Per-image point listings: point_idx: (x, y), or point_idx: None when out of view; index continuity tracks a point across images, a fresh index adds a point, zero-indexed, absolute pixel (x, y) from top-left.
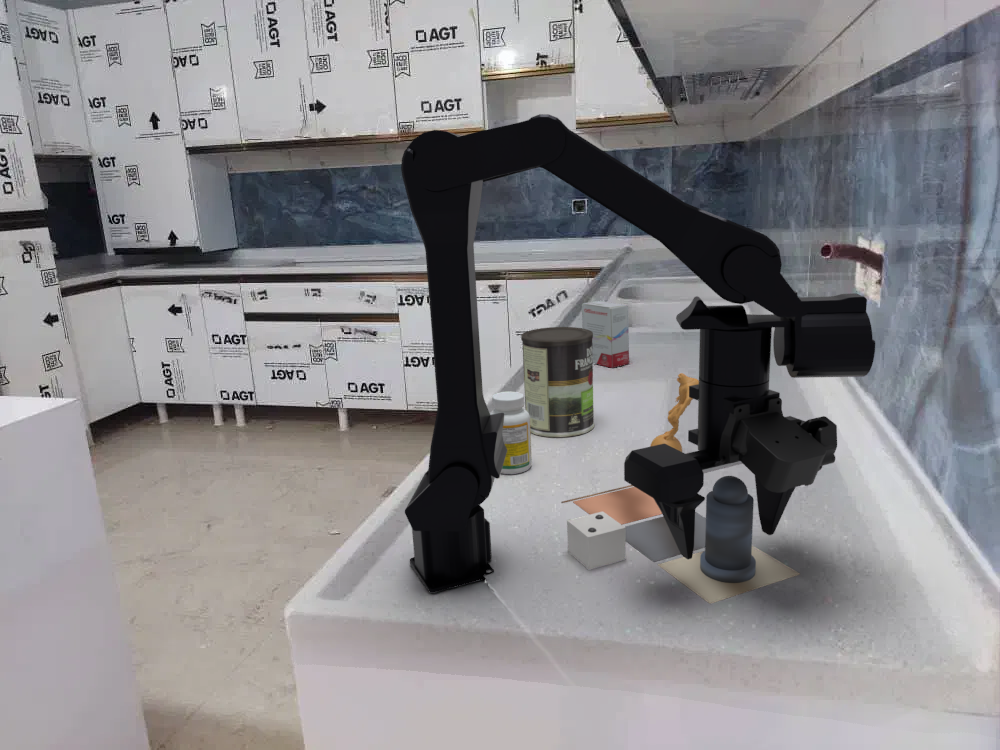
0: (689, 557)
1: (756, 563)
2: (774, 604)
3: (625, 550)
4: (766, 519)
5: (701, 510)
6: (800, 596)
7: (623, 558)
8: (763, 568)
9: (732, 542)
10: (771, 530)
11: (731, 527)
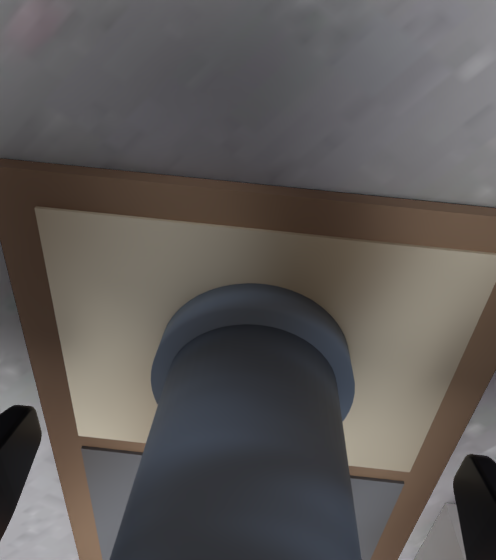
0: (492, 462)
1: (137, 336)
2: (265, 132)
3: (460, 550)
4: (2, 483)
5: (70, 548)
6: (126, 113)
7: (459, 526)
8: (140, 304)
9: (312, 448)
10: (18, 422)
11: (328, 542)
